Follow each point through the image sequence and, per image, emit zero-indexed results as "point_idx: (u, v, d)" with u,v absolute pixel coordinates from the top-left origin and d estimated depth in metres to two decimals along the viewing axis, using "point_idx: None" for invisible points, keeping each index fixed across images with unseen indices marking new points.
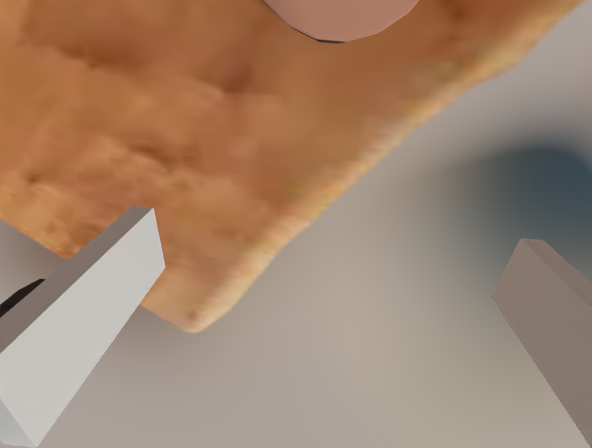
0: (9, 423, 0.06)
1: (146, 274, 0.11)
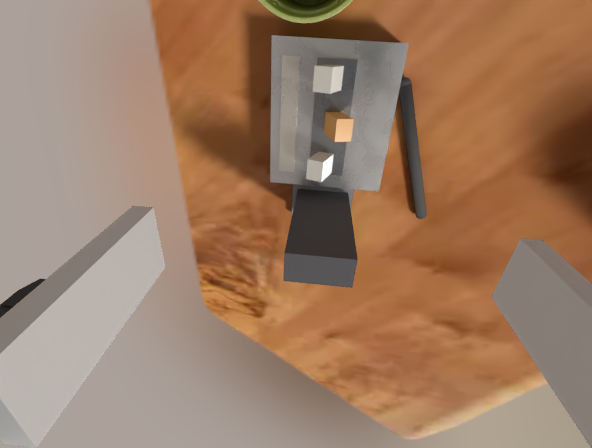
0: (8, 424, 0.06)
1: (146, 274, 0.11)
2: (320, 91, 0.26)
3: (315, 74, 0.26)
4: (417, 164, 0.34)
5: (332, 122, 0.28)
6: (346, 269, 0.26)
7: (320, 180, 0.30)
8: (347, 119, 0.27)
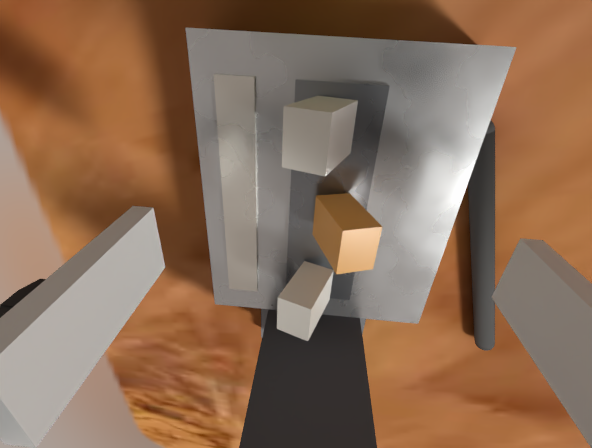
0: (9, 423, 0.06)
1: (146, 274, 0.11)
2: (300, 168, 0.10)
3: (286, 128, 0.10)
4: (490, 273, 0.18)
5: (331, 229, 0.12)
6: None
7: (306, 338, 0.14)
8: (367, 228, 0.11)
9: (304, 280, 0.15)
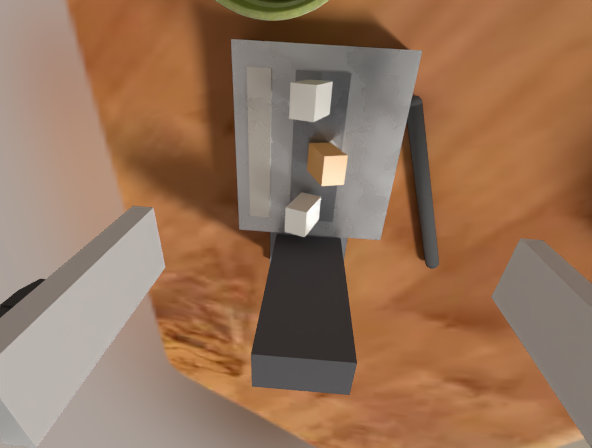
0: (9, 424, 0.06)
1: (146, 274, 0.11)
2: (300, 118, 0.19)
3: (292, 95, 0.18)
4: (429, 205, 0.26)
5: (318, 159, 0.20)
6: (340, 374, 0.18)
7: (303, 235, 0.22)
8: (338, 156, 0.20)
9: (302, 200, 0.23)
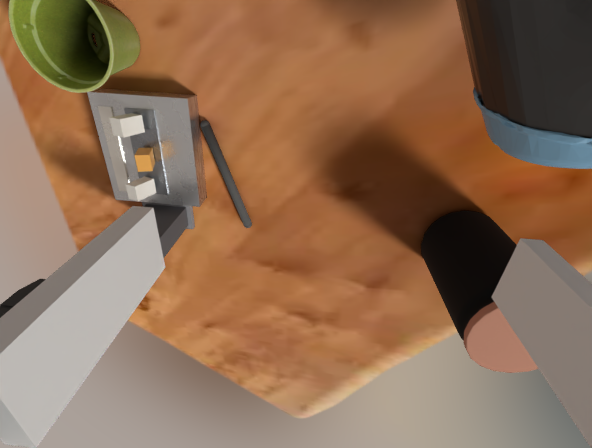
0: (9, 423, 0.06)
1: (146, 274, 0.11)
2: (117, 135, 0.35)
3: (111, 123, 0.35)
4: (230, 185, 0.43)
5: None
6: None
7: (137, 200, 0.39)
8: (144, 155, 0.36)
9: (139, 180, 0.40)
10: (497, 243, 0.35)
